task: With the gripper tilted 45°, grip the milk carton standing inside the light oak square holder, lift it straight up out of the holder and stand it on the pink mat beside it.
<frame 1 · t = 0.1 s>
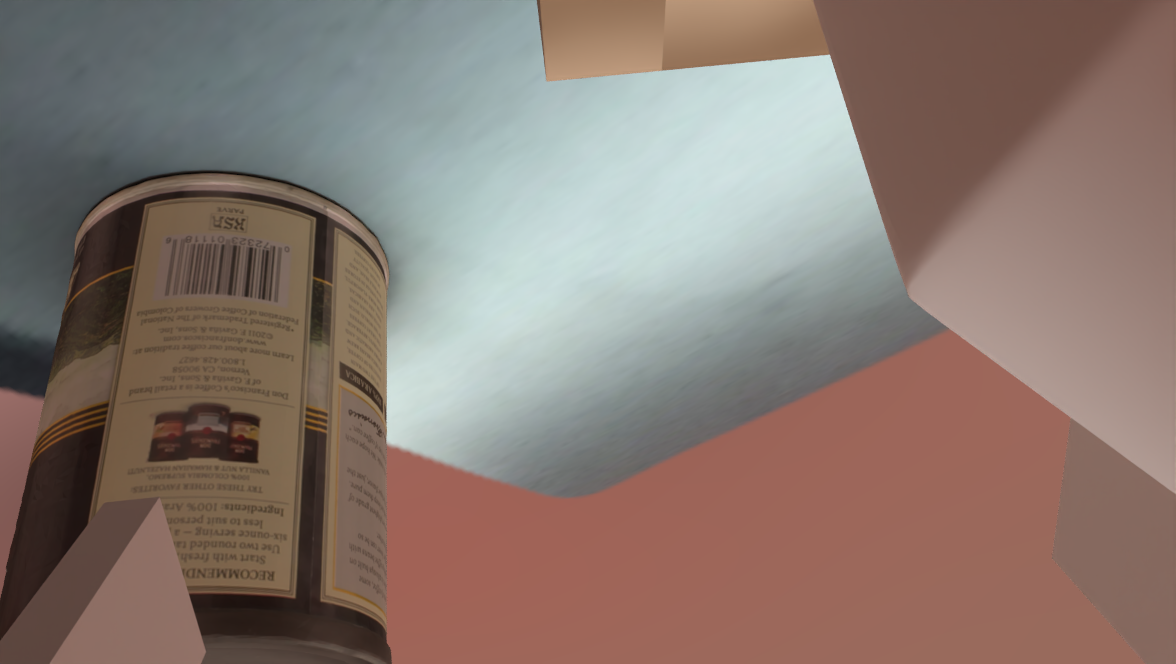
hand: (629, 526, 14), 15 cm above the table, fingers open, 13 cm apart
coffee can: (243, 265, 33), on the table
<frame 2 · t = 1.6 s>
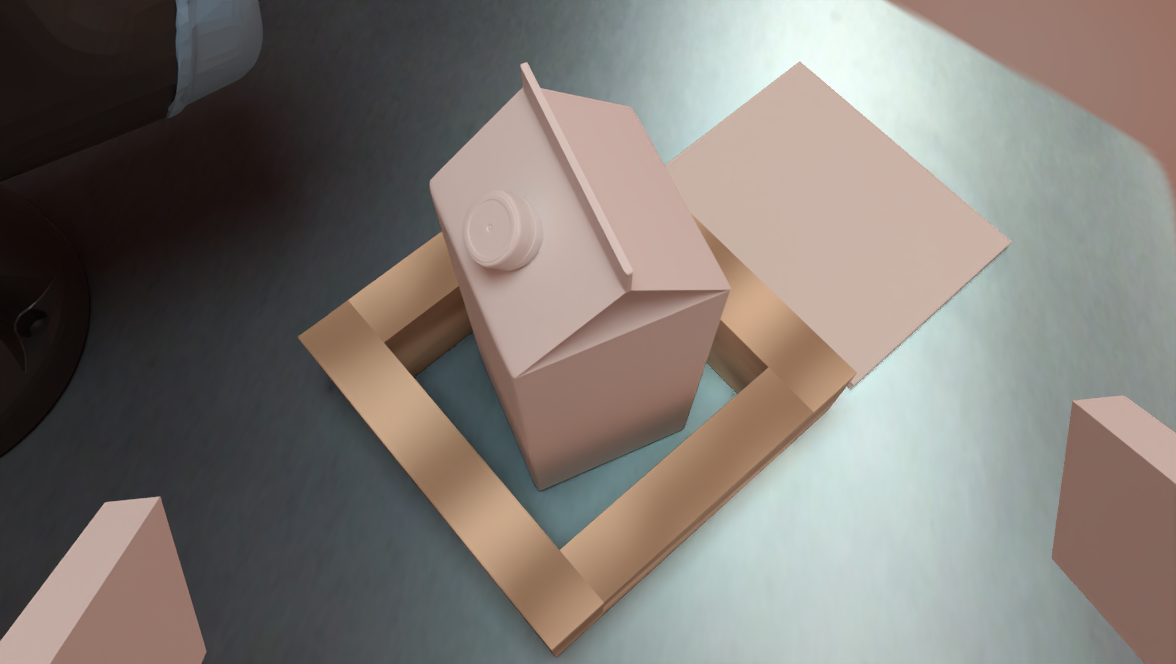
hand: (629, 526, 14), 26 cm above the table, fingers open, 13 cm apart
pink mat: (821, 217, 45), on the table
milk carton: (580, 392, 42), resting in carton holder
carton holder: (576, 394, 42), on the table
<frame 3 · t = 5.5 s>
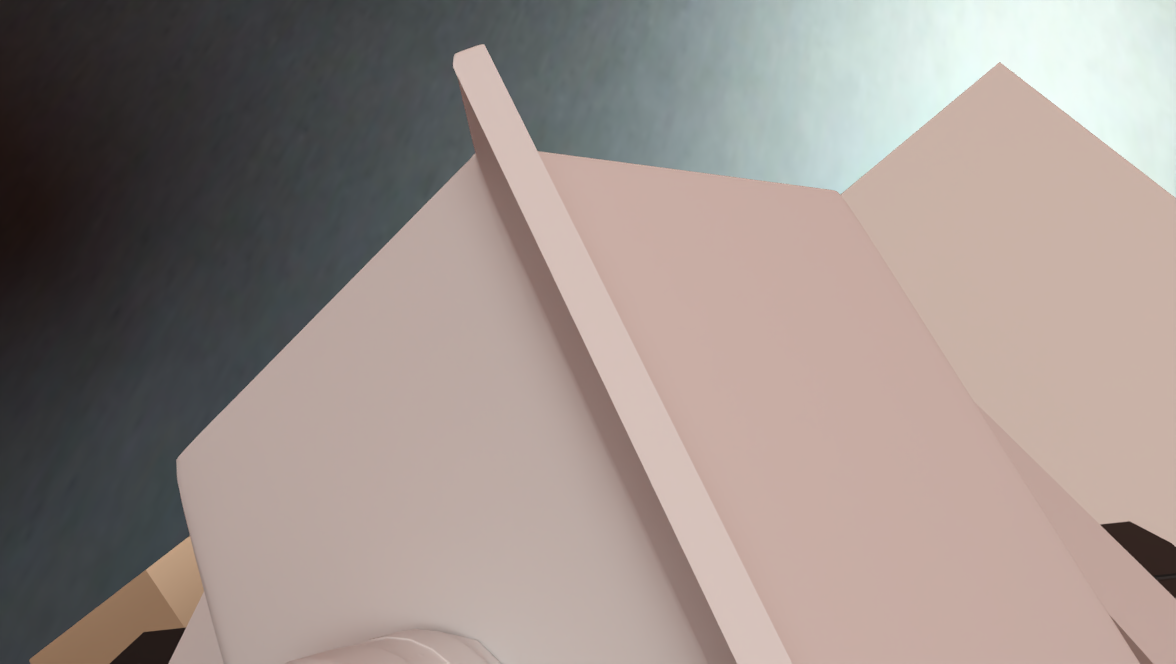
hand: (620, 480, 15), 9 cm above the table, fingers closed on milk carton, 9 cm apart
pink mat: (1064, 343, 25), on the table
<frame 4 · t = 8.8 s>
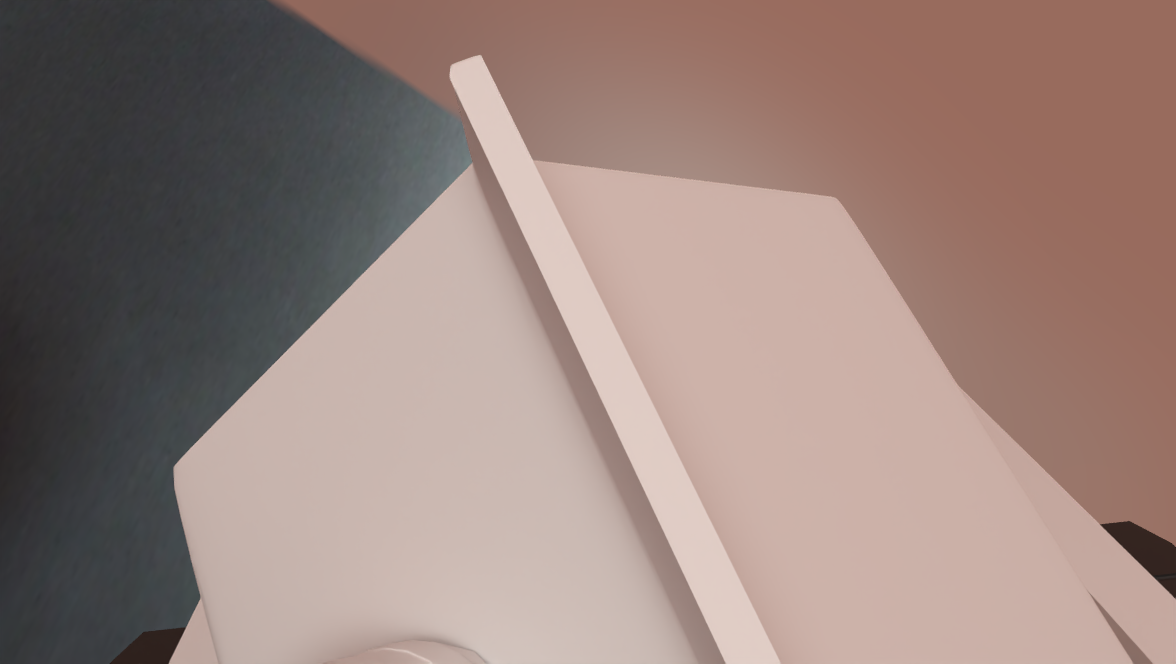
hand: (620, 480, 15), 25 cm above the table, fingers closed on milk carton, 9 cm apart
when the fingers open (11 cm above the table, at t = 12.4 s): milk carton drops 1 cm, resting on pink mat.
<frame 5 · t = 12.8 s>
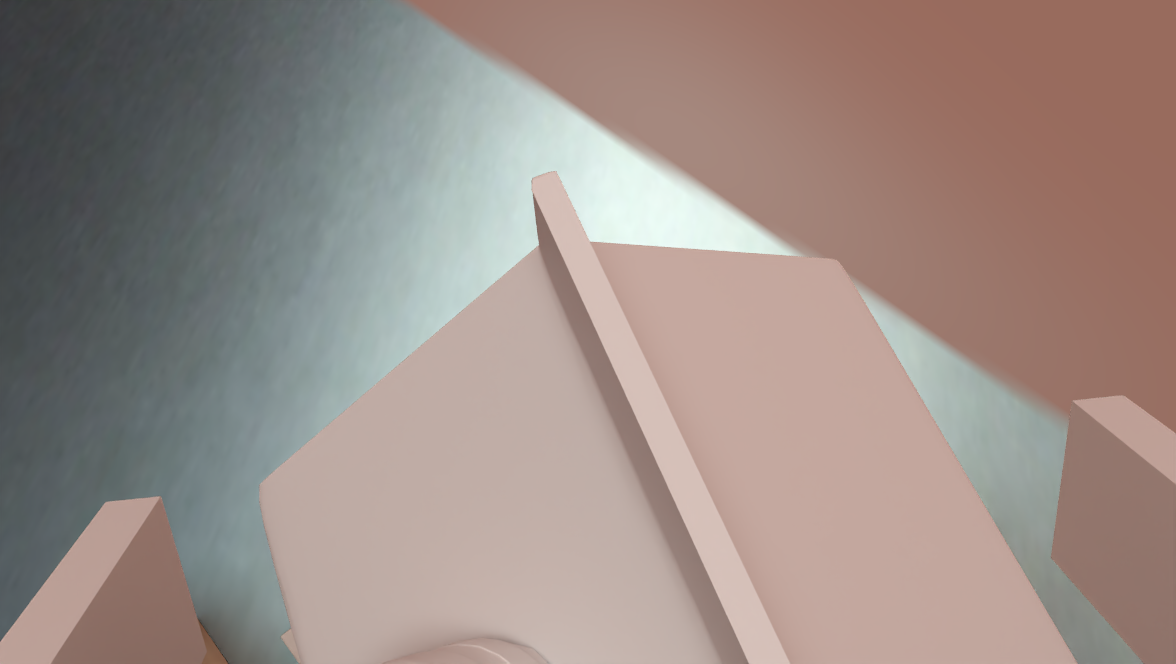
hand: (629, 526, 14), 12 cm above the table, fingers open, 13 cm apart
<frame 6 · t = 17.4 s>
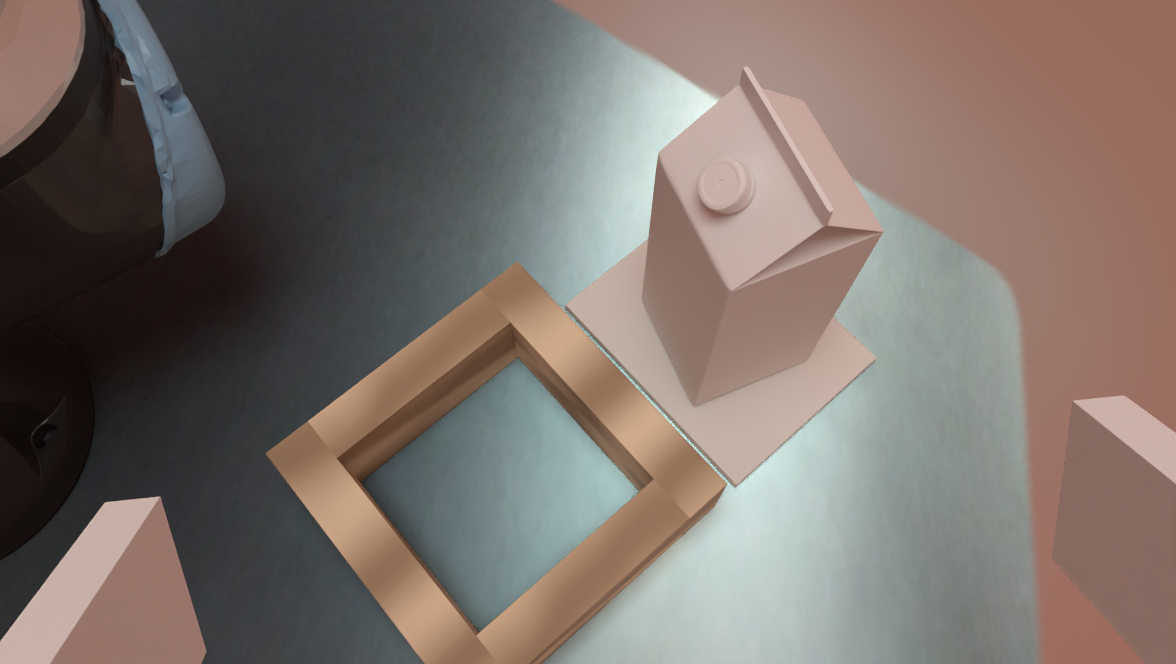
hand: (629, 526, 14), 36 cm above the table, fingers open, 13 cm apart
pink mat: (717, 334, 53), on the table
milk carton: (722, 331, 53), resting on pink mat
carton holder: (503, 491, 50), on the table
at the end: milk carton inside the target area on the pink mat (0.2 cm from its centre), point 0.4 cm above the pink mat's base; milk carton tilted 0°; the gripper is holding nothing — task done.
